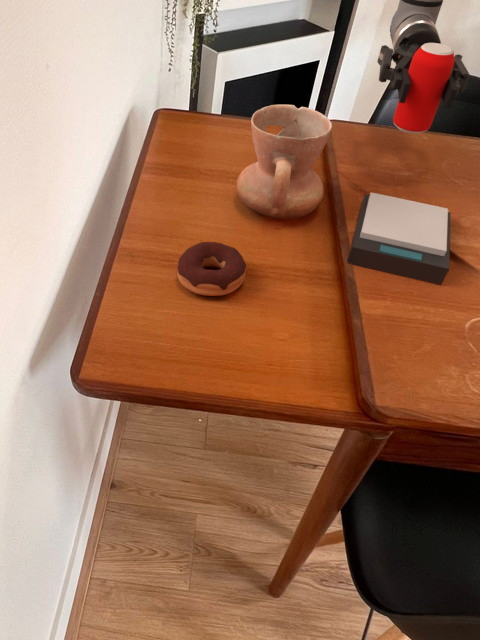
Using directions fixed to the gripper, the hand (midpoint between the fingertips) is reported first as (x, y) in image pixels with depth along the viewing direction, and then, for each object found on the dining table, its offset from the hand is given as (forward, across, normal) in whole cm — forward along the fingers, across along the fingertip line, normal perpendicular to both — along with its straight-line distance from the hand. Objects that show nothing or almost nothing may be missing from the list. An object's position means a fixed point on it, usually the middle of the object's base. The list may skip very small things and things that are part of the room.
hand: (428, 96), depth 79 cm
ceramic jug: (+6, +19, -18) cm, 27 cm away
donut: (+28, +27, -18) cm, 43 cm away
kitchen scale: (+12, -1, -18) cm, 22 cm away
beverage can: (-5, 0, -7) cm, 9 cm away
